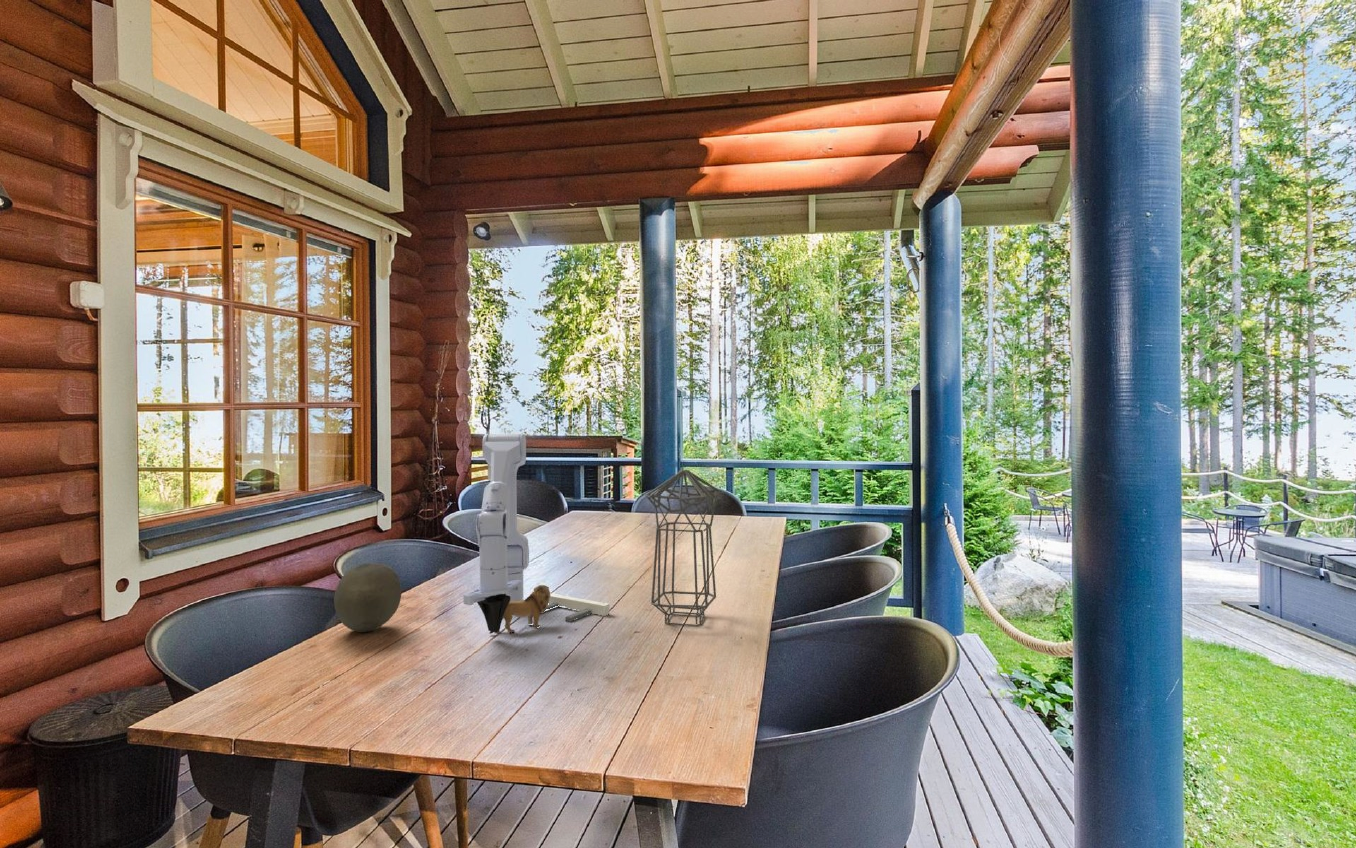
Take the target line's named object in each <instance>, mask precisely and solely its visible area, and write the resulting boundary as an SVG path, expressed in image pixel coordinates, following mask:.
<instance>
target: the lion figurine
mask: <svg viewBox="0 0 1356 848" xmlns="http://www.w3.org/2000/svg"><path fill="white" fill-rule="evenodd" d="M550 593H551V591H550V588H549V586H547V585H545V584H538V585H537V586H536V587H534V588H533V591H532V592H531V593H530V595H528V596H527V597H526V598H524V600H523V601H510V602H509V604H508V606H507V608H506V610H505V612H504V615H503V618H502V621H504V622H505V625H504V628H505V629H506V630H507V632H508V633H509V632H511V633H510V634H513V633H512V632H515V633H516V631H515V629H513V628H511V622H512V620H513V616H514V617H516V618H525V617H527V625H528V624H532V623H534V628H535V627H539V626H541V625H539V619H540V615H541V614H540V613H542V612H544V611H545V610H546V607H547V605H548V603H549V598H550ZM542 614H543V613H542ZM493 633H494V632H492V631H489V634H493Z"/></svg>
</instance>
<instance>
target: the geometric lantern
mask: <svg viewBox="0 0 1356 848" xmlns="http://www.w3.org/2000/svg"><path fill="white" fill-rule="evenodd" d="M687 479H688V481H689V482H690V484H691V485H692V487H693V488H694V489H695V491H696V493H693V492H691V493H690V492H689V487H688V481H687ZM679 481H680V482H679ZM678 483H680V485H679V490H676V487H677V485H678ZM683 484H684V485H683ZM683 486H684V487H685V491H683ZM706 486H707V487H709V488H711V489H708V488H707V487H706ZM670 487H672V488H671V489H670ZM664 492H667V493H668V495H662V494H663V493H664ZM675 493H676V494H675ZM720 493H722V490H720V489H719V488H717V487H715V486H713V485H712V484H711V483H709V482H707V481H705V480H704V479H703V478H701V477H699V476H698V475H696V474H694V473H693V472H691V471H690V470H689V469H680V470H679V471H678V472H677V473H676V474H675V475H673V476H671V477H670V478H668V479H667V480H666V481H664V482H663V483H661V484H659V485H658V486H656V487H655V488H654V489H652V490H651V491H649V492H647V493H646V494H645V498H646V499H647V500H648V501H649V502H650V503H651V504H652V506H653V507H654V511H655V512H654V514H655V523H656V530H655V533H656V534H655V545H654V561H653V573H652V586H651V587H652V588H651V589H652V590H651V602H650V603H651V605H652V606H653V607H655V608H656V609H658V610H659V611H660V612H661V613H662V614H663V615H664V624H666V625H673V626H687V627H688V626H689V627H698V626H702V624H703V621H704V619H705V616H706V614H705V611H706V610H707V609H708V607H709V606H710V605H711V604H712V603H713V602H714V600H715V599H717V593H716V592H717V591H716V590H717V588H716V579H715V578H716V577H715V576H716V575H715V566H714V562H715V561H714V552H713V551H714V550H713V539H712V526H713V520H714V515H715V511H716V510H715V509H716V507H717V502H718V501H717V500H718V497H719V496H720ZM677 494H679V496H678V495H677ZM683 495H687V497H683ZM690 496H691V497H690ZM661 499H666V502H667V505H668V507H667V506H666V505H665V504H663V503H661ZM670 500H678V502H679V507H680V508H678V509H672V508H671V505H670V504H671V503H670ZM692 500H694V501H692ZM706 500H707V503H708V504H707V507H708V509H706V510H705V513H704V515H702V513H701V511H700V509H699V507H698V506H700V504H701V503H702V502H704V501H706ZM690 501H692V502H690ZM682 504H684V505H682ZM692 506H694V507H696V509H697V512H698V514H699V516H700V517H701V519H702V520H701V522H693V521H691V519H690V518H689V516H688V514H687V512H686V511H685V510H686V509H688V508H690V507H692ZM658 508H659V510H660V512H661V515H662V517H663V518H662V520H661V521H660V523H659V517H658ZM661 508H663V509H665V510H666V513H665V515H664V512H663V511H662V509H661ZM708 511H711V517H710V522H709V523H707V522H706V521H705V519H706V516H707V513H708ZM678 512H679V513H678ZM668 513H678V514H677V516H676V518H675V520H674V521H672V522H671V521H670V522H668V520H667V519H666V517H667V515H668ZM682 514H683V515H684V516H685V518H686V520H687V522H682V521H681V522H679V521H678V520H679V519H680V516H681V515H682ZM664 521H665V523H664ZM669 525H673V527H672V528H673V529H671V528H669ZM676 525H690V526H691V528H692V529H693V530H692V529H676ZM694 525H699V527H698V529H697V528H695V526H694ZM703 525H704V526H705V528H704V529H701V528H702V526H703ZM664 526H665V528H662V527H664ZM661 531H665V540H664V541H665V544H664V545H665V546H664V561H663V562H664V563H663V578H662V579H663V580H662V581H663V582H662V593H661V539H662V538H661V536H662V535H661V534H662V533H661ZM669 532H672V561H671V563H672V564H671V565H672V567H671V571H672V572H671V590H670V591H665V590H666V578H667V577H666V576H667V563H668V562H667V559H668V542H669ZM676 532H685V533H693V534H692V535H693V541H692V542H693V562H694V563H693V565H694V568H693V569H694V592H693V591H680V590H678V591H677V590H675V558H676V556H675V554H676ZM704 532H705V535H706V536H705V538H706V539H705V540H704ZM696 533H700V543H701V545H700V546H701V561H702V572H703V573H702V576H703V591H704V592H698V590H699V589H698V566H697V562H698V561H697V539H696ZM704 541H706V555H705V543H704ZM709 548H710V549H709ZM709 552H710V553H709ZM709 555H710V556H709ZM705 556H706V557H705ZM705 558H706V559H705ZM710 562H711V576H712V589H713V594H712V593H710ZM656 573H657V597H656V598H655V586H656ZM674 594H675V595H676V594H678V595H679V594H680V595H695V596H694V597H695V598H694V599H695V605H694V604H675V595H674ZM667 595H671V597H672V604H671V602H670V599H668V597H667ZM699 595H700V596H704V600H703V601H702V603H701V605H699V599H698V598H699ZM663 596H664V598H665V600H666V601H667V603H668V604H664V603H663V604H661V598H662V597H663ZM709 596H710V597H712V598H711V599H710V600H709V601H708V597H709ZM704 604H705V605H704ZM665 608H667V610H665ZM676 609H684V610H694V611H696V612H685V611H676ZM668 612H669V613H668ZM671 616H675V617H676V616H677V617H688V618H690V617H691V618H695V623H678V622H677V623H676V622H670V617H671ZM698 619H699V622H698Z"/></svg>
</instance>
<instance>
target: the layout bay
mask: <svg viewBox="0 0 1356 848" xmlns="http://www.w3.org/2000/svg"><path fill="white" fill-rule="evenodd" d="M558 605H559V606H565V607H567V608H570V609H576V610H579V611H576V612H575V613H572V614H568V615H566V616H565V621H566V620H568V621H572V620H574V619H576V618H580V617H582V616H585V615H587V614H590V615H594V614H598V615H597V616H600V615H602V616H601V617H606V615H607V616H609V615H610V614H611V613H610V609H611V607H610V603H606V602H601V601H595V600H590V599H584V598H579V597H573V596H566V595H562V594H557V593H551V592H550V598H549V605H547V607H546V609H550V608H553V607H555V606H558ZM591 613H592V614H591ZM608 614H609V615H608ZM587 616H588V615H587ZM585 617H586V616H585ZM582 618H583V617H582ZM580 619H581V618H580ZM568 621H567V622H568ZM572 622H573V621H572Z"/></svg>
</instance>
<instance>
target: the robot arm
mask: <svg viewBox="0 0 1356 848" xmlns="http://www.w3.org/2000/svg"><path fill="white" fill-rule="evenodd" d="M481 442H482V444H481V445H482V449H481V450H482V456H483V458H484V460H485V462H486V463H487V465H488V466H490V482H489V483H487V485H485V487H484V489H483V495H482V503H481V510H480V513H477V514H476V515H477V516H476V521H475V527H476V528H475V530H476V536H477V547H479V551H478V552H479V587H478V588H475V589H474V590H472V591H470V592H469V593H465V594H463V605H467V606H473V605H474V603H475V604H476V603H477V605H478V606H479V608H480V610H481V612H482V614H483V616H484V618H485V621H486V626H487V629H488V632H490V631H492V632H493V633H497V632H500V630H501V626H502V621H503V620H502V618H503V615H504V612H505V610H506V608H507V606H508V604H509V602H510V601H523V600H525V598H524V570H526V569H528V567H529V563H530V548H529V540H528V537H527V536H525V534H523V533H521V532H520V531H518V516H517V515H518V514H517V513H518V512H517V511H518V510H517V509H518V508H517V507H518V506H517V505H518V504H517V501H518V499H517V498H518V497H517V488H518V487H517V473H518V469H519V467H522V466H524V465H525V464H526V461H527V437H526V435H525V434H524V433H516V434H515V433H498V434H497V433H495V434H494V433H493V434H490V433H486V434H484V435H483V437H482V441H481Z"/></svg>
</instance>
